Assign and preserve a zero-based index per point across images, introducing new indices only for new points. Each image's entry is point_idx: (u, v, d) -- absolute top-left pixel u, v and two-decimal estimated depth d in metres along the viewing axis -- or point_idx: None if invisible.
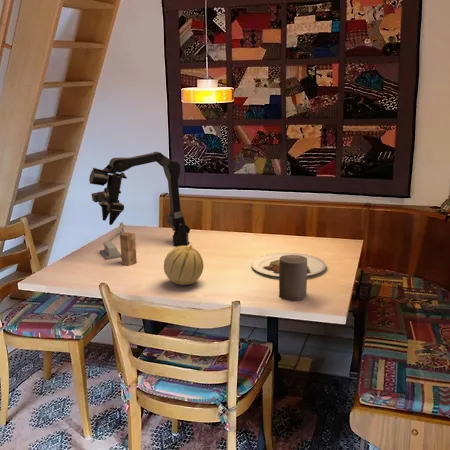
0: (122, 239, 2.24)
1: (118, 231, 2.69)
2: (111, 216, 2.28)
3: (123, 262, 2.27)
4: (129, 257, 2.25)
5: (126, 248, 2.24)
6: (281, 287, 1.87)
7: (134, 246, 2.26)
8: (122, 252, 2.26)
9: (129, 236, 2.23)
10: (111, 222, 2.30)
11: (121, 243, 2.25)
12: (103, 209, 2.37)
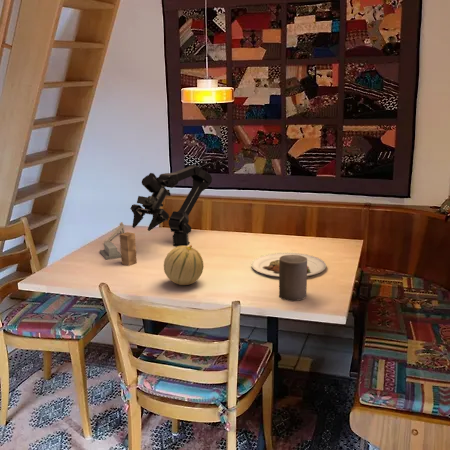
0: (122, 239, 2.24)
1: (118, 231, 2.69)
2: (153, 222, 2.29)
3: (123, 262, 2.27)
4: (129, 257, 2.25)
5: (126, 248, 2.24)
6: (281, 287, 1.87)
7: (134, 246, 2.26)
8: (122, 252, 2.26)
9: (129, 236, 2.23)
10: (150, 228, 2.29)
11: (121, 243, 2.25)
12: (136, 216, 2.35)
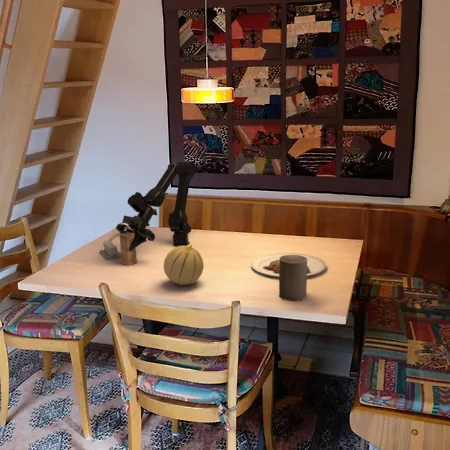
0: (122, 239, 2.24)
1: (118, 231, 2.69)
2: (135, 242, 2.24)
3: (123, 262, 2.27)
4: (129, 257, 2.25)
5: (126, 248, 2.24)
6: (281, 287, 1.87)
7: None
8: (122, 252, 2.26)
9: (129, 236, 2.23)
10: (132, 248, 2.24)
11: (121, 243, 2.25)
12: None
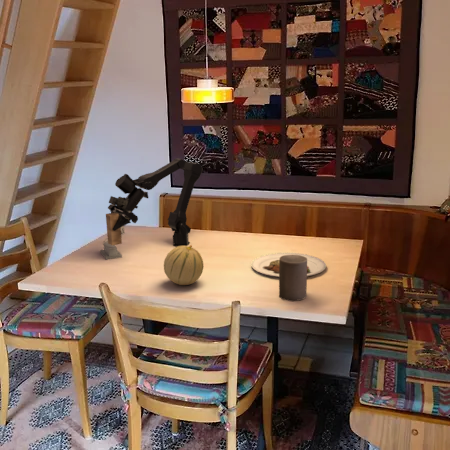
0: (107, 219, 2.30)
1: None
2: (118, 222, 2.29)
3: (108, 241, 2.33)
4: (113, 237, 2.30)
5: (110, 228, 2.29)
6: (281, 287, 1.87)
7: None
8: (108, 231, 2.32)
9: (113, 216, 2.28)
10: (115, 228, 2.29)
11: (107, 223, 2.31)
12: None
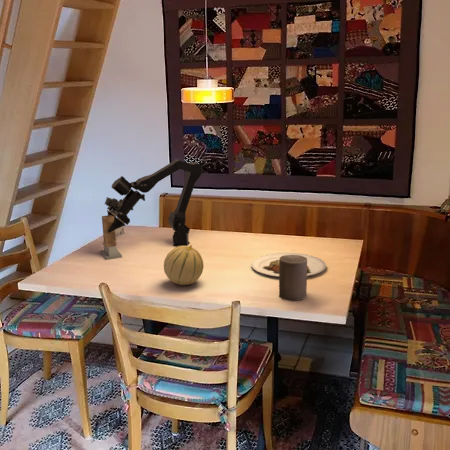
0: (102, 221, 2.36)
1: (118, 231, 2.69)
2: (113, 224, 2.32)
3: (104, 243, 2.39)
4: (107, 239, 2.36)
5: (104, 230, 2.35)
6: (281, 287, 1.87)
7: None
8: (103, 233, 2.38)
9: (107, 219, 2.34)
10: (110, 230, 2.33)
11: None
12: None
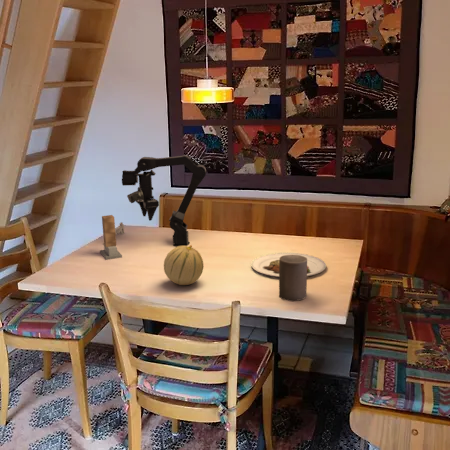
0: (102, 221, 2.36)
1: (118, 231, 2.69)
2: (149, 212, 2.44)
3: (104, 243, 2.39)
4: (107, 239, 2.36)
5: (104, 230, 2.35)
6: (281, 287, 1.87)
7: (113, 229, 2.36)
8: (103, 233, 2.38)
9: (107, 219, 2.34)
10: (150, 218, 2.46)
11: None
12: (141, 206, 2.53)
